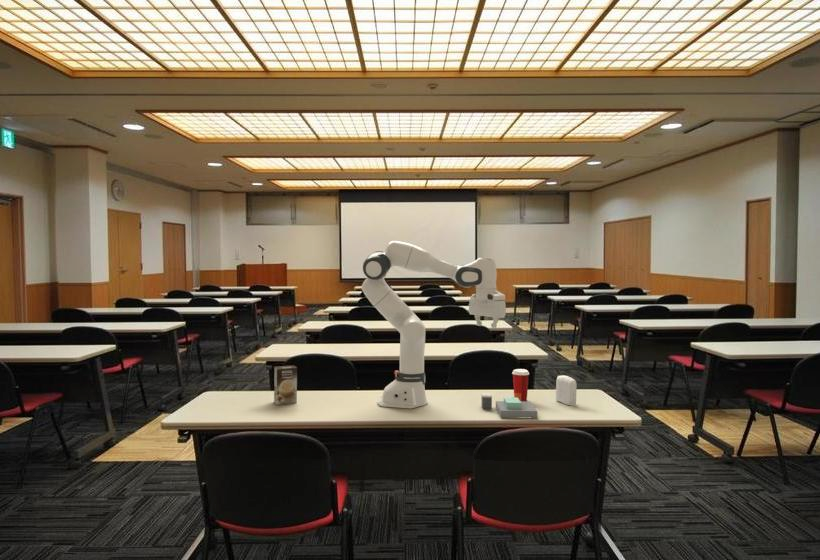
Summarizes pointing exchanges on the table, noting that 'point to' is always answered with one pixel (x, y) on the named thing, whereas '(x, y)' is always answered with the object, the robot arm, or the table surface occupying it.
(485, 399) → the plug
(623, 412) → the table surface
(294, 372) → the coffee box
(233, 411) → the table surface
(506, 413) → the socket
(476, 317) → the robot arm
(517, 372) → the paper cup
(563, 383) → the book
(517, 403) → the mint green block
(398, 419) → the table surface
